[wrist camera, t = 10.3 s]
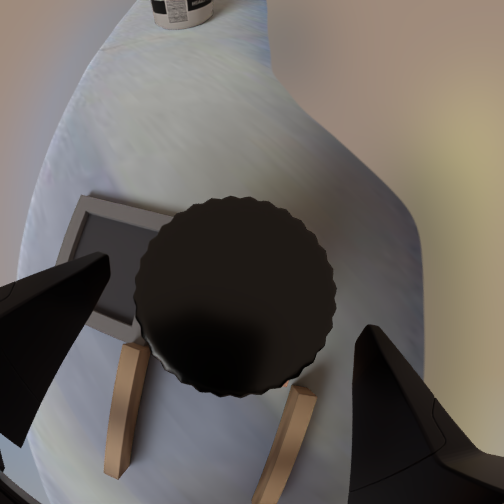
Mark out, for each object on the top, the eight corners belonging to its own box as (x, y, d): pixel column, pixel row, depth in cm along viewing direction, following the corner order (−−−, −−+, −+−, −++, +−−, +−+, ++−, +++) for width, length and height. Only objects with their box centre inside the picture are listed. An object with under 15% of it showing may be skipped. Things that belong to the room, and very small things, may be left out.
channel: (266, 501, 15) (269, 519, 12) (115, 460, 15) (103, 472, 12) (307, 387, 17) (317, 396, 15) (136, 341, 17) (122, 344, 15)
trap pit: (147, 347, 17) (143, 349, 17) (50, 304, 18) (45, 304, 17) (183, 222, 20) (181, 218, 19) (85, 198, 20) (81, 194, 19)
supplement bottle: (183, 359, 17) (94, 420, 5) (184, 257, 18) (109, 162, 7) (289, 359, 17) (372, 422, 5) (287, 257, 19) (358, 162, 7)
